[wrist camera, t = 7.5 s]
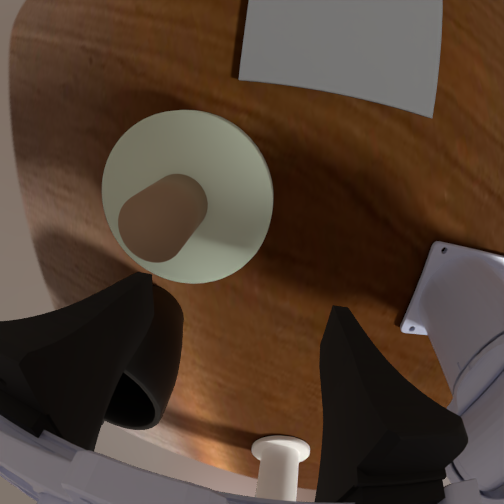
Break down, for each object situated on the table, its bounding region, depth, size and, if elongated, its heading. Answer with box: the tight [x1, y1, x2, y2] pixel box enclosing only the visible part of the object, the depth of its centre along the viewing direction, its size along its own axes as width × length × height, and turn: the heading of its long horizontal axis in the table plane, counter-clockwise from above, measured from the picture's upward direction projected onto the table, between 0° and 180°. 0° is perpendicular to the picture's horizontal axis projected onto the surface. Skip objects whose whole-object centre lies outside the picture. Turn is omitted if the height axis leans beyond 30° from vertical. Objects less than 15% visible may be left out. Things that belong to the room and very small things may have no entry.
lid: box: [102, 110, 274, 283], centre depth 14 cm, size 9×9×5 cm
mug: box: [102, 285, 184, 430], centre depth 22 cm, size 8×12×10 cm
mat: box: [238, 0, 442, 118], centre depth 14 cm, size 12×10×1 cm
